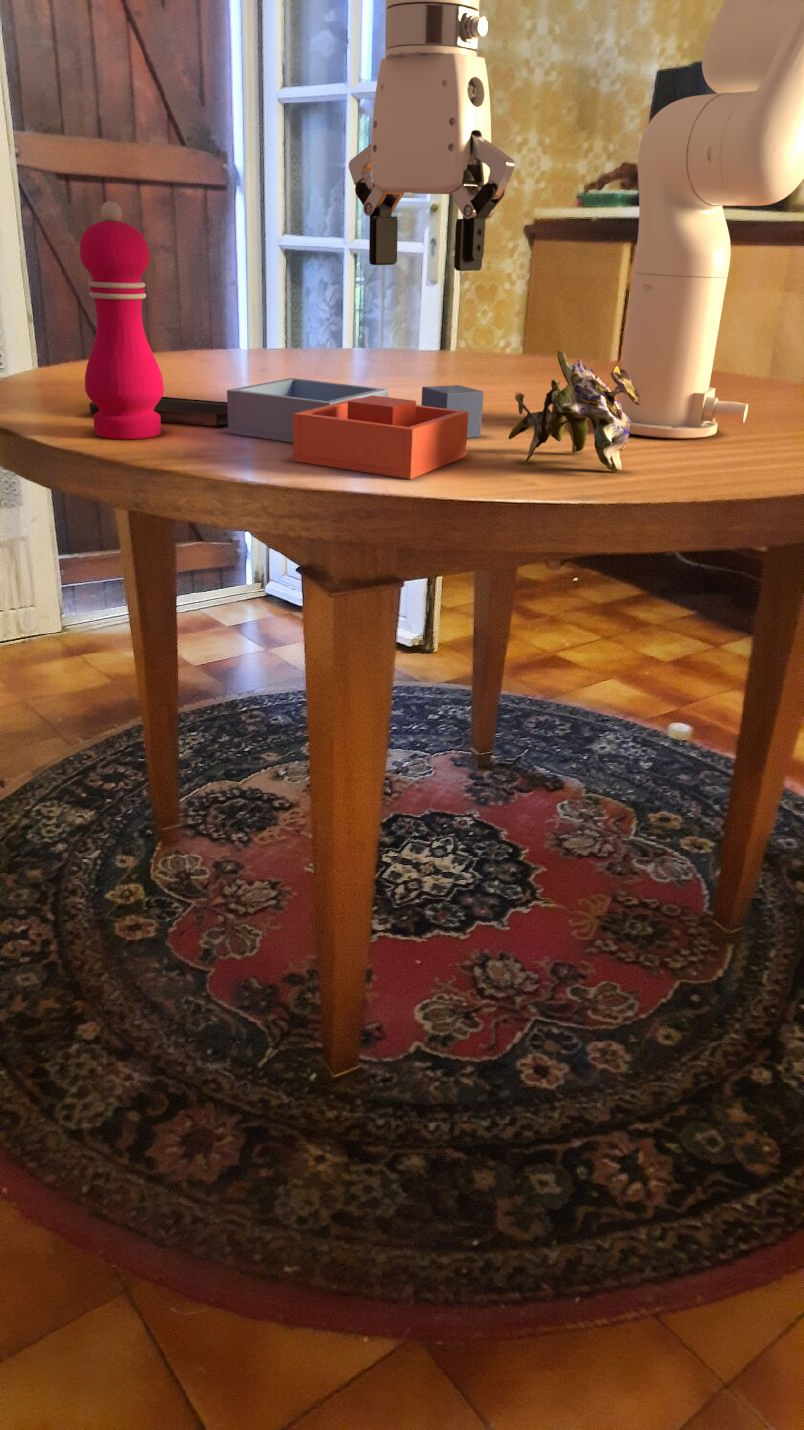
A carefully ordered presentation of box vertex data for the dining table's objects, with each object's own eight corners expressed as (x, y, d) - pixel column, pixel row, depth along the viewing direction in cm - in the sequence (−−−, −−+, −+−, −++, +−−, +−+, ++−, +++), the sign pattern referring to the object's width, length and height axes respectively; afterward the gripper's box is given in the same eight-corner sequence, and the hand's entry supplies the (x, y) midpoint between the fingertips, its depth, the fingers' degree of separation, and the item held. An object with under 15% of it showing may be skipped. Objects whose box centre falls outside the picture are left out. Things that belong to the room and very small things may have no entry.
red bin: (465, 456, 95) (468, 411, 93) (410, 479, 85) (412, 429, 84) (357, 441, 99) (357, 397, 98) (293, 461, 90) (292, 413, 88)
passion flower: (602, 529, 94) (646, 437, 84) (488, 499, 94) (518, 404, 83) (616, 441, 100) (658, 345, 89) (508, 413, 99) (538, 314, 89)
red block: (413, 451, 93) (416, 400, 91) (391, 459, 89) (393, 407, 87) (370, 445, 95) (371, 395, 93) (346, 453, 91) (347, 401, 89)
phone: (120, 393, 112) (249, 403, 109) (121, 404, 112) (250, 414, 109) (84, 403, 105) (221, 415, 102) (85, 415, 105) (221, 426, 102)
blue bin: (386, 430, 105) (388, 389, 103) (329, 448, 96) (329, 403, 94) (291, 417, 110) (291, 377, 108) (227, 433, 100) (226, 390, 98)
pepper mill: (176, 429, 101) (163, 204, 92) (153, 442, 95) (137, 202, 86) (105, 424, 102) (86, 200, 93) (77, 438, 95) (54, 198, 86)
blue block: (480, 437, 104) (484, 391, 102) (444, 440, 102) (447, 393, 100) (455, 429, 107) (458, 385, 105) (419, 432, 105) (421, 386, 103)
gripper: (546, 37, 81) (528, 272, 88) (381, 52, 91) (378, 262, 98) (491, 23, 76) (477, 274, 83) (323, 41, 85) (324, 263, 93)
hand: (424, 267), depth 91 cm, fingers open, 9 cm apart
